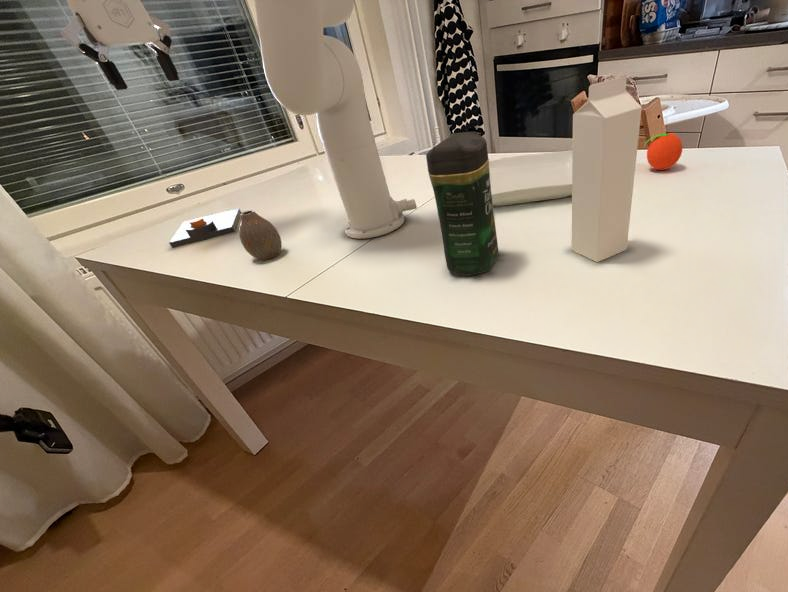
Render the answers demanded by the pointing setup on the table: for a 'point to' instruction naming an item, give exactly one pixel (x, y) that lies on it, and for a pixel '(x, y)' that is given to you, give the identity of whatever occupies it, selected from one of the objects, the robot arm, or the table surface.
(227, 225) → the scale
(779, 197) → the table surface
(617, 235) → the milk
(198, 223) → the orange angular block
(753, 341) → the table surface
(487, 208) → the coffee jar
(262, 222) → the vase
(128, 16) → the robot arm
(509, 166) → the square plate
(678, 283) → the table surface
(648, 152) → the tomato
